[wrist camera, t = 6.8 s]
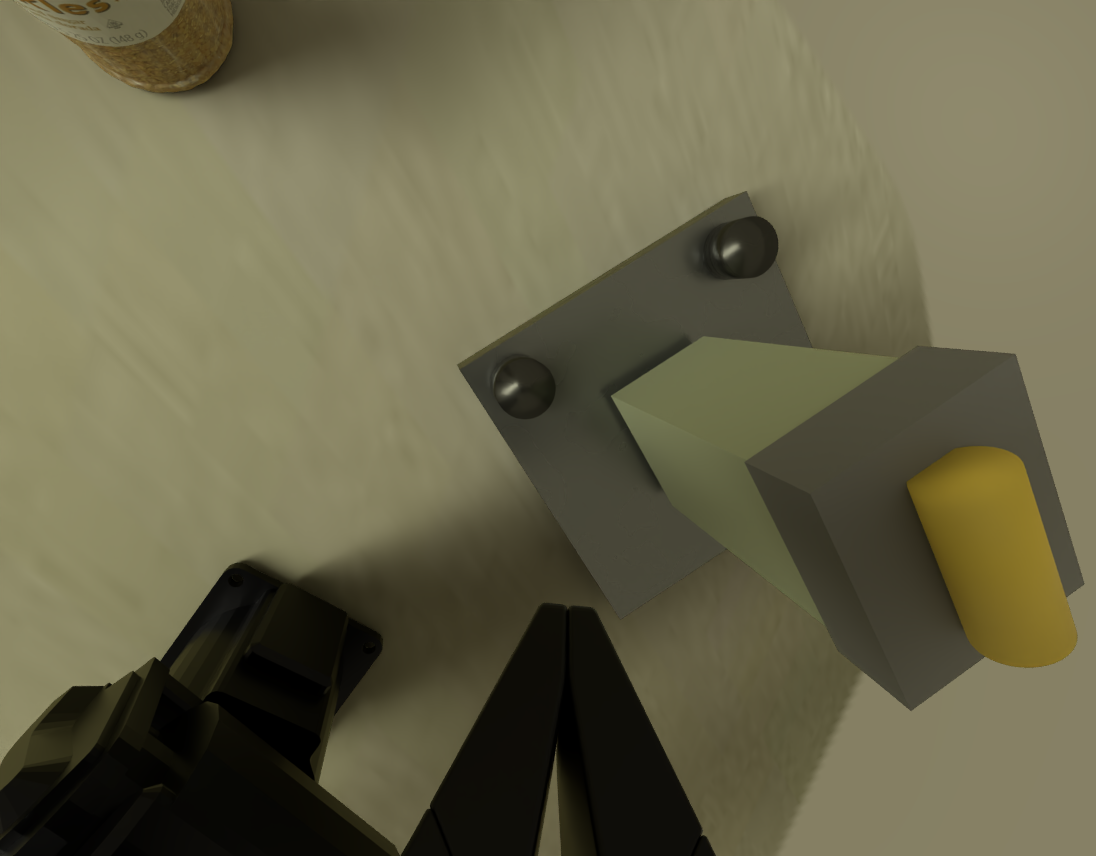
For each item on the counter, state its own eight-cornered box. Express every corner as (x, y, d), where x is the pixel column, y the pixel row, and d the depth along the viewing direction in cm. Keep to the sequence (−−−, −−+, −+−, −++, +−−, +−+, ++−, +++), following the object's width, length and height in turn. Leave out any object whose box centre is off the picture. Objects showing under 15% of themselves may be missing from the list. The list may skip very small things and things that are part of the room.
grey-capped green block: (670, 512, 21) (978, 767, 10) (603, 394, 20) (875, 524, 8) (763, 449, 22) (1174, 621, 10) (705, 328, 20) (1110, 362, 8)
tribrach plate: (608, 600, 24) (633, 641, 21) (457, 364, 21) (461, 375, 18) (835, 451, 25) (887, 470, 22) (725, 198, 22) (770, 182, 19)
